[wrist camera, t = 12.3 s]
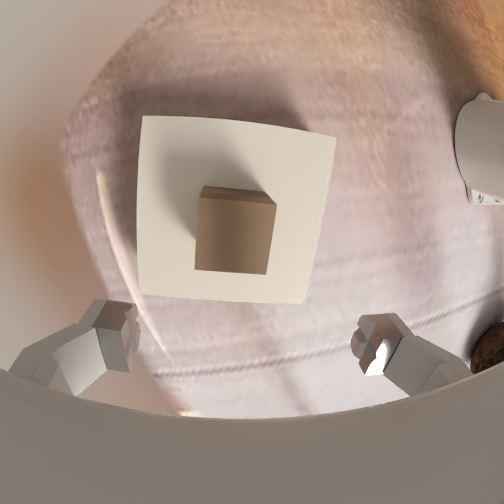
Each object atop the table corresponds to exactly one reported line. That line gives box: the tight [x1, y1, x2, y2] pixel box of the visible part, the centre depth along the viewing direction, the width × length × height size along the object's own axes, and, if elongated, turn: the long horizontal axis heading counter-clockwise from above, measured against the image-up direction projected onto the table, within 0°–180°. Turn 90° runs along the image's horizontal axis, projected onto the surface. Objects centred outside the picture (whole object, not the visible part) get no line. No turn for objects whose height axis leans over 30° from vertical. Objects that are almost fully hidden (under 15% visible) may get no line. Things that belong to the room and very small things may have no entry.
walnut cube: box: [194, 186, 277, 275], centre depth 20 cm, size 5×5×5 cm
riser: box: [137, 116, 337, 304], centre depth 25 cm, size 16×16×6 cm
